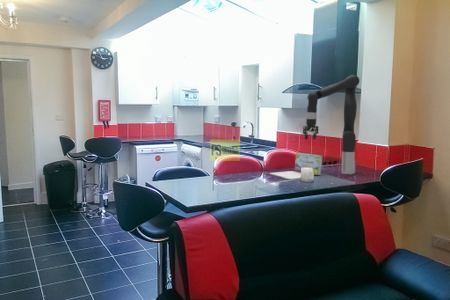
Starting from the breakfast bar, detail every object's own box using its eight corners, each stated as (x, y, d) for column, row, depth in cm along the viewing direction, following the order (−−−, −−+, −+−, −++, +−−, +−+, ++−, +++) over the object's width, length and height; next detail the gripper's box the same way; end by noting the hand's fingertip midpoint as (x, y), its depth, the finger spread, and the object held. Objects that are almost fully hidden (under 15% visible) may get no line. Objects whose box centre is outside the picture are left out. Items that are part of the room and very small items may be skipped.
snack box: (293, 171, 291) (295, 152, 291) (297, 171, 295) (300, 153, 295) (316, 175, 275) (319, 155, 275) (320, 175, 279) (323, 155, 279)
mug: (307, 179, 263) (307, 166, 262) (317, 182, 253) (317, 169, 252) (298, 180, 259) (298, 167, 258) (308, 183, 250) (308, 170, 249)
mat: (292, 171, 295) (292, 171, 295) (313, 177, 272) (313, 176, 272) (269, 173, 285) (269, 173, 285) (289, 179, 262) (289, 178, 262)
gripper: (308, 118, 278) (307, 140, 280) (321, 118, 286) (320, 139, 287) (301, 118, 284) (300, 139, 286) (314, 118, 292) (313, 139, 293)
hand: (310, 139), depth 286 cm, fingers open, 8 cm apart
